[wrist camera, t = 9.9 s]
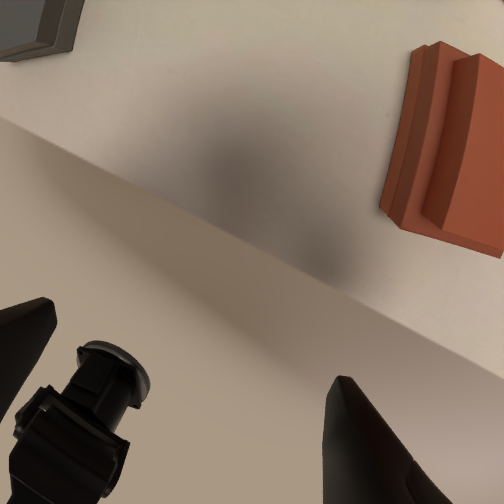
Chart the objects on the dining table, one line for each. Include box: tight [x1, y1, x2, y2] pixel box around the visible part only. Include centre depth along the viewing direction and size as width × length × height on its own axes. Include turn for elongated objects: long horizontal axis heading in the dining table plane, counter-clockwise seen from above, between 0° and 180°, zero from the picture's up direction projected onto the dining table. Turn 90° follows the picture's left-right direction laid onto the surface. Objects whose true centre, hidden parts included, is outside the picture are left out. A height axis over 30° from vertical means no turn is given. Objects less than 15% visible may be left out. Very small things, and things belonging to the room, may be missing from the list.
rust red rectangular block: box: [421, 53, 504, 251], centre depth 11 cm, size 8×6×2 cm
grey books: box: [0, 0, 84, 62], centre depth 12 cm, size 9×7×4 cm
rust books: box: [379, 41, 503, 259], centre depth 13 cm, size 10×8×4 cm
